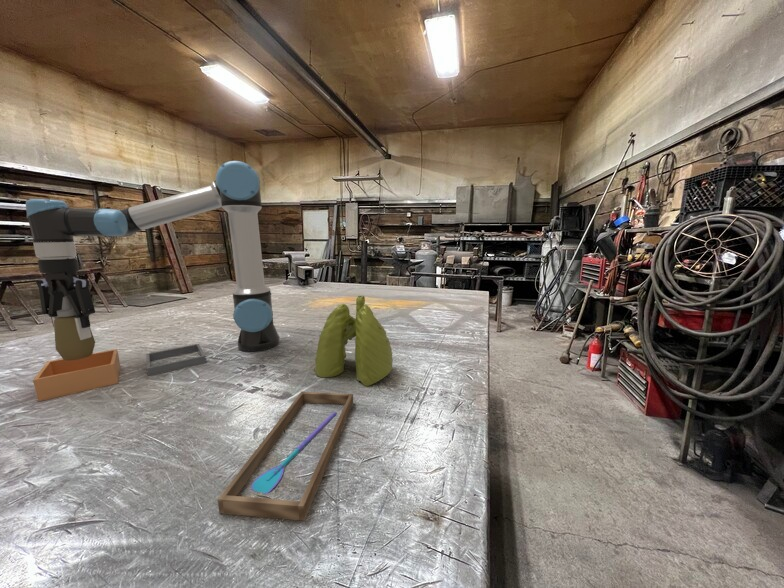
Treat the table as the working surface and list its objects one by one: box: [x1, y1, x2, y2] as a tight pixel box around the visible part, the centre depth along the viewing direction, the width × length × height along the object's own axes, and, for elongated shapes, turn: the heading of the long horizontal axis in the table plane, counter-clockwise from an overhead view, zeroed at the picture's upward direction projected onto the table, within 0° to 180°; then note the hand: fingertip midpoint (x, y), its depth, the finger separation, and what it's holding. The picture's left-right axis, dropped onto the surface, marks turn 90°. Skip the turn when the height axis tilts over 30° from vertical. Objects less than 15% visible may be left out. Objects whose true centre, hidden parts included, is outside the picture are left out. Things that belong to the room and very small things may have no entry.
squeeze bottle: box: [53, 296, 96, 361], centre depth 87 cm, size 8×8×18 cm
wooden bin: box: [32, 348, 121, 402], centre depth 89 cm, size 16×16×6 cm
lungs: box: [314, 295, 394, 387], centre depth 93 cm, size 25×16×24 cm, turn 68°
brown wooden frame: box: [217, 391, 354, 521], centre depth 62 cm, size 14×33×2 cm, turn 174°
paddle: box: [250, 411, 337, 495], centre depth 61 cm, size 25×4×1 cm, turn 161°
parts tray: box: [145, 343, 207, 377], centre depth 104 cm, size 16×16×2 cm
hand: (74, 337), depth 87 cm, fingers closed on squeeze bottle, 6 cm apart
